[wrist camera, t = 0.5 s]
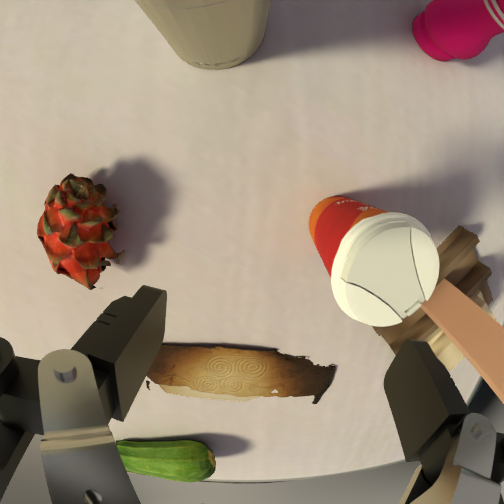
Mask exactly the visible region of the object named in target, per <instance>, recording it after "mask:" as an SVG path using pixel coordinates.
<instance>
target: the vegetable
mask: <svg viewBox="0 0 504 504" xmlns="http://www.w3.org/2000/svg"><path fill="white" fill-rule="evenodd" d="M116 445H117V448H118V451H119V454H120V456H121V459H122V461H123V464H124V466H125V469H126V470H127V471H131V472H135V473H140V474H145V475H150V476H155V477H160V478H164V479H168V480H174V481H183V482H195V481H202V480H204V479H206V478H209V477H210V476H211V475H212V474H213V473H214V471H215V466H216V461H215V456H214V455H213V452H212V450H211V449H210V448H209V447H208V446H207V445H206V444H204V443H201V442H198V441H192V440H180V441H168V442H132V441H125V440H124V441H119V442H118V443H116Z"/></svg>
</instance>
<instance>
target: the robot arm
mask: <svg viewBox="0 0 504 504" xmlns="http://www.w3.org/2000/svg"><path fill="white" fill-rule="evenodd" d="M135 1H136V3H137V4H138V5H139V6H140V7H141V9H142V10H143V11H144V12H145V14H146V15H147V16H148V17H149V19H150V20H151V21H152V22H153V24H154V25H155V26H156V27H157V29H158V30H159V31H160V33H161V34H162V35H163V36H164V38H165V39H166V40H167V42H168V43H169V44H170V46H171V47H172V48H173V50H174V51H175V52H176V53H177V54H178V55H179V57H180V58H181V59H182V60H184V61H185V62H187V63H188V64H190V65H193V66H195V67H198V68H203V69H208V70H219V69H225V68H230V67H232V66H235V65H238V64H240V63H242V62H244V61H245V60H247V59H248V58H249V57H251V56H252V55H253V54H254V53H255V52H256V51H257V49H258V48H259V47H260V45H261V43H262V41H263V38H264V33H265V28H266V23H267V19H268V14H269V8H270V3H271V0H135ZM166 303H167V293H166V291H165V290H161V289H157V288H153V287H150V286H146V285H143V286H142V287H141V288H140V289H139V290H138V291H137V292H136V294H135V295H134V296H133V297H132V298H131V297H127V296H123V297H121V298H119V299H117V300H115V301H113V302H111V304H110V305H109V306H108V307H107V308H106V309H105V310H104V311H103V314H101V315H100V316H99V317H98V318H97V320H96V321H95V322H94V323H93V324H92V325H91V326H90V327H89V328H88V330H87V331H86V332H85V333H84V334H83V335H82V337H81V338H80V339H79V340H78V341H77V342H76V344H75V345H74V346H73V347H72V348H71V350H69V349H62V350H56V351H53V352H51V353H49V354H47V355H46V356H45V357H44V358H43V359H42V360H34V359H28V358H23V357H18V356H15V354H14V351H13V348H12V346H11V344H10V343H9V342H8V341H7V340H5V339H4V338H1V337H0V501H1V499H2V497H3V494H4V492H5V490H6V488H7V486H8V484H9V482H10V480H11V478H12V476H13V474H14V472H15V470H16V468H17V466H18V464H19V462H20V460H21V458H22V457H23V455H24V453H25V451H26V449H27V447H28V446H29V444H30V442H31V440H32V438H33V436H34V435H35V434H40V435H44V440H41V442H40V451H41V457H42V462H43V467H44V472H45V477H46V481H47V485H48V489H49V493H50V496H51V501H52V504H141V503H140V501H139V499H138V497H137V495H136V492H135V490H134V488H133V486H132V484H131V481H130V479H129V476H128V474H127V471H126V469H125V466H124V464H123V461H122V459H121V456H120V454H119V451H118V448H117V445H116V443H115V440H114V437H113V435H112V432H111V431H110V429H109V426H108V423H109V422H110V420H111V418H114V419H116V420H119V421H122V422H123V421H124V419H125V417H126V415H127V413H128V411H129V409H130V407H131V405H132V403H133V401H134V399H135V397H136V395H137V393H138V391H139V389H140V387H141V385H142V383H143V381H144V379H145V377H146V375H147V373H148V371H149V369H150V367H151V365H152V363H153V361H154V359H155V357H156V355H157V353H158V352H159V350H160V348H161V345H162V342H163V338H164V332H165V318H166ZM384 390H385V393H386V396H387V399H388V402H389V405H390V408H391V411H392V415H393V418H394V421H395V424H396V428H397V431H398V434H399V438H400V441H401V445H402V448H403V452H404V455H405V459H406V462H411V461H421V465H420V466H419V467H418V468H417V469H416V471H415V472H414V475H413V477H412V479H411V481H410V483H409V485H408V487H407V489H406V491H405V493H404V495H403V497H402V499H401V501H400V502H399V504H504V501H503V498H502V495H501V484H500V483H501V482H502V481H504V434H502V433H497V432H496V430H495V428H494V426H493V424H492V423H491V422H490V421H489V420H488V419H487V418H486V417H484V416H483V415H480V414H477V413H470V411H469V409H468V407H467V405H466V403H465V401H464V400H463V398H462V396H461V394H460V392H459V390H458V388H457V386H455V383H454V381H453V379H452V378H450V374H449V372H448V370H447V369H446V367H445V365H444V364H443V363H442V362H441V361H440V360H439V359H438V358H437V357H436V355H435V354H434V352H433V350H432V349H431V347H430V345H429V344H428V342H426V341H421V340H413V339H406V340H405V341H404V342H403V343H402V345H401V347H400V349H399V351H398V353H397V354H396V356H395V358H394V360H393V362H392V363H391V365H390V367H389V369H388V370H387V372H386V375H385V378H384Z"/></svg>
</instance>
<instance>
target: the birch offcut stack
mask: <svg viewBox="0 0 504 504" xmlns="http://www.w3.org/2000/svg"><path fill="white" fill-rule="evenodd" d="M470 299H471V300H472V301H473V302H474V303H476V304H477V305H478V306H479V307H480V308H482V309H483V310H484V311H485V312H486V313H487V314H489V315H490V316H491V317H492V318H493V319H494V320H496V319H495V317H494V315H493V314H492V312H491V310H490V309H489V307H488V305H487V304H486V302H485V301H484V298H483V295H482V293H481V291H480V290H477V291H476V292H475V293H474V294H473V295H472V296H471V297H470ZM424 341H426V342H428V344H429V345H430V347H431V349H432V350H433V352H434V354H435V355H436V357H437V358H438V359H439V360H440V361H441V362H442V363H443V364H444V365H445V367H446V368H447V369H448V370H449V371H451V370H452V369H453V368H454V367H455V366H456V365H457V364H458V363H459V362H460V361H461V360H462V359H463V358H464V357H465V356H464V355H463V354H462V352H461V351H460V350H459V349H458V348H457V347H456V346H455V345H454V343H453V342H452V341H451V340H450V339H449V338H448V337H447V336H446V334H445V333H444V332H443V331H442V330H441V329H440V328H438V329H437V330H435V331H434V332H433V333H432V334H431V335H430V336H429V337H428V338H426V339H425V340H424Z"/></svg>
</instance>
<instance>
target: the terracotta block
mask: <svg viewBox="0 0 504 504" xmlns="http://www.w3.org/2000/svg"><path fill="white" fill-rule="evenodd" d="M421 308H422V309H423V311H424V312H425V313H426V314H427V315H428V316H429V317H430V318H431V319H432V320H433V321H434V322H435V324H436V325H437V326H438V327H439V328H440V329H441V330H442V331H443V332H444V333H445V334H446V336H447V337H448V338H449V339H450V340H451V341H452V342H453V343H454V345H455V346H456V347H457V348H458V349H459V350H460V351H461V352H462V354H463V355H464V356H465V357H466V358H467V359H468V361H469V362H470V363H471V364H472V365H473V366H474V368H475V369H476V370H477V371H478V372H479V374H480V375H481V376H482V377H483V378H484V380H485V381H486V382H487V383H488V385H489V386H490V387H491V388H492V389H493V391H494V392H495V393H496V395H497V396H498V397H499V398H500V400H501V401H502V402H503V404H504V328H503V327H502V326H501V325H500V324H499V323H498V322H497V321H496V320H494V319H493V318H492V317H491V316H490V315H489V314H487V313H486V312H485V311H484V310H483V309H482V308H480V307H479V306H478V305H477V304H476V303H474V302H473V301H472V300H471V299H470V298H468V297H467V296H466V295H465V294H464V293H462V292H461V291H460V290H459V289H457V288H456V287H455V286H454V285H452V284H451V283H450V282H448V281H447V280H446V279H445V278H444V279H443V280H442V281H441V282H440V283H439V284H438V285H437V286H436V287H435V289H434V291H433V293H432V295H431V296H430V298H429V299H428V301H427V300H425V301H424V302H423V303H422V304H421Z"/></svg>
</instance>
